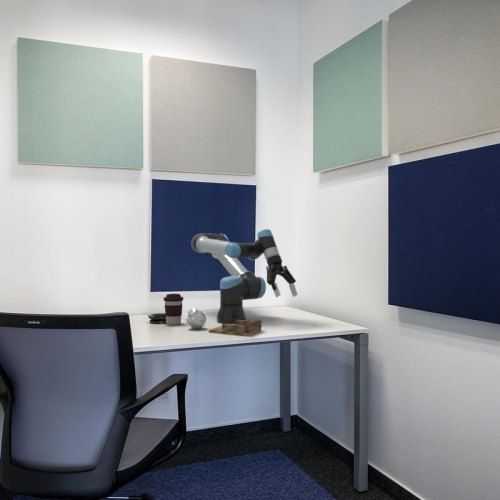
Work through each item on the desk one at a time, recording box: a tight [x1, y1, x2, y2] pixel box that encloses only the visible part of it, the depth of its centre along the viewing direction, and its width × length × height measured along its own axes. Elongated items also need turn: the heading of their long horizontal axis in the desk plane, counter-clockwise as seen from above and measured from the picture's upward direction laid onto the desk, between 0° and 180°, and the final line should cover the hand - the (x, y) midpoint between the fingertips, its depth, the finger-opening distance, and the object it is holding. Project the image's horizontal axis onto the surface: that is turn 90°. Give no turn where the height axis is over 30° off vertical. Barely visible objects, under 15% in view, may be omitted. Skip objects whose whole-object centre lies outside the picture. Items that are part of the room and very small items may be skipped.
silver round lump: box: [185, 307, 207, 330], centre depth 225 cm, size 9×10×10 cm
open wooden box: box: [208, 319, 262, 337], centre depth 218 cm, size 20×14×5 cm
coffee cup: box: [163, 293, 184, 326], centre depth 239 cm, size 10×10×15 cm
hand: (287, 296), depth 232 cm, fingers open, 13 cm apart
